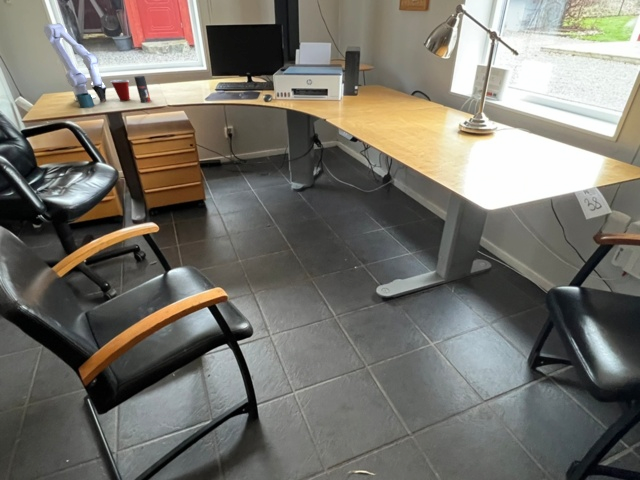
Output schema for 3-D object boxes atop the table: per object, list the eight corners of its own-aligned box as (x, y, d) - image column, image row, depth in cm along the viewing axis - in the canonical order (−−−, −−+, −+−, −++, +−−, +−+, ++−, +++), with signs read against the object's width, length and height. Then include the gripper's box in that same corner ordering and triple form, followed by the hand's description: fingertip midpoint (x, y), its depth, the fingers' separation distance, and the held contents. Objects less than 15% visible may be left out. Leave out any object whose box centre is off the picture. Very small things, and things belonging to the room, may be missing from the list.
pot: (83, 108, 233) (79, 96, 229) (77, 106, 237) (73, 94, 233) (99, 105, 239) (95, 93, 235) (93, 103, 243) (89, 91, 240)
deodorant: (147, 102, 242) (140, 77, 234) (139, 102, 243) (132, 77, 235) (152, 100, 247) (146, 75, 238) (144, 100, 248) (137, 75, 239)
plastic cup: (137, 98, 253) (132, 78, 247) (125, 102, 245) (120, 82, 238) (124, 97, 256) (119, 78, 250) (112, 101, 248) (106, 81, 241)
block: (99, 100, 247) (96, 92, 244) (104, 99, 249) (101, 91, 246) (101, 101, 245) (98, 92, 242) (107, 100, 247) (104, 91, 244)
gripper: (83, 75, 240) (91, 98, 248) (94, 78, 232) (101, 101, 240) (94, 73, 245) (101, 96, 252) (105, 76, 237) (112, 99, 244)
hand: (102, 98), depth 246 cm, fingers closed on block, 3 cm apart
